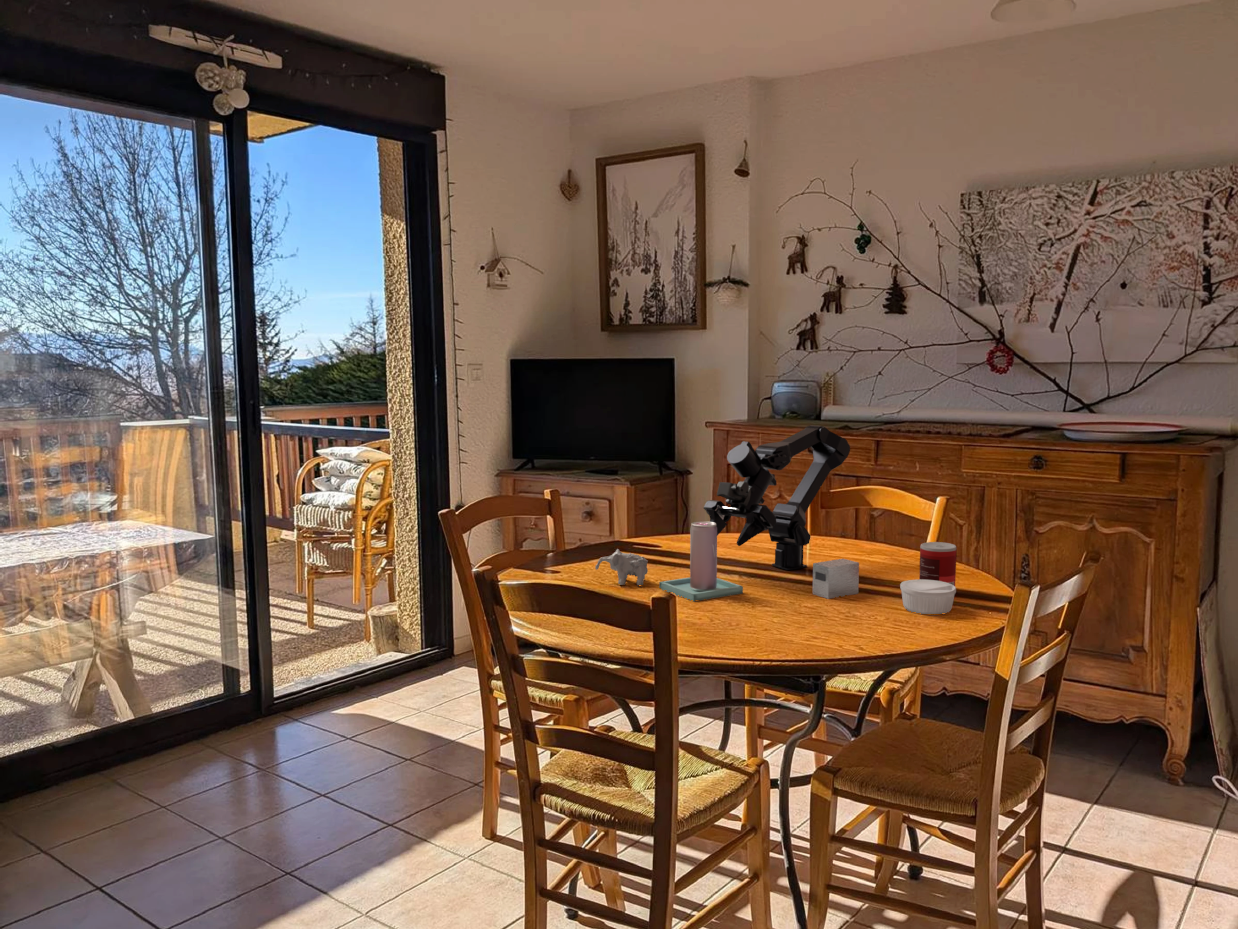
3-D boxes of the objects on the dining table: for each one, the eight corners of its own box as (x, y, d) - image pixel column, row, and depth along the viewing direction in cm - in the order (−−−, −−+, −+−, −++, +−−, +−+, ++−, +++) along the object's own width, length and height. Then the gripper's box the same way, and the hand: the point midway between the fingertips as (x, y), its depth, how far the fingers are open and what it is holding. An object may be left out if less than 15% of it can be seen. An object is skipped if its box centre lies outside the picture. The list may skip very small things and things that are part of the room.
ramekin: (947, 620, 200) (948, 594, 199) (892, 612, 206) (893, 587, 205) (961, 607, 209) (961, 583, 208) (908, 600, 215) (908, 577, 214)
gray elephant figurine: (652, 588, 229) (653, 555, 228) (601, 588, 226) (603, 555, 225) (641, 579, 238) (642, 548, 237) (592, 579, 235) (594, 548, 234)
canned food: (955, 591, 223) (956, 542, 221) (954, 599, 215) (956, 550, 214) (919, 588, 225) (921, 540, 224) (918, 596, 218) (919, 547, 216)
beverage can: (695, 585, 227) (695, 520, 225) (720, 587, 225) (720, 522, 223) (686, 590, 222) (686, 524, 220) (711, 593, 219) (712, 526, 217)
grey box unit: (843, 588, 225) (844, 558, 225) (859, 593, 221) (860, 562, 220) (811, 594, 221) (812, 563, 220) (827, 599, 216) (828, 567, 215)
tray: (707, 581, 233) (707, 574, 233) (742, 593, 222) (742, 586, 221) (659, 588, 226) (659, 581, 226) (693, 601, 215) (693, 594, 215)
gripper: (706, 467, 238) (676, 519, 232) (765, 470, 224) (734, 526, 218) (730, 494, 244) (701, 546, 238) (789, 499, 230) (760, 554, 224)
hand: (723, 543), depth 229 cm, fingers open, 9 cm apart
